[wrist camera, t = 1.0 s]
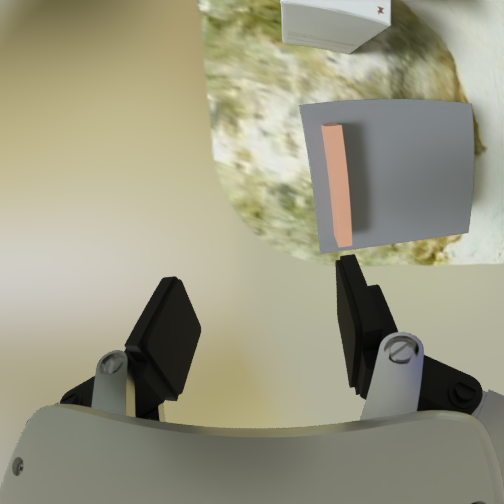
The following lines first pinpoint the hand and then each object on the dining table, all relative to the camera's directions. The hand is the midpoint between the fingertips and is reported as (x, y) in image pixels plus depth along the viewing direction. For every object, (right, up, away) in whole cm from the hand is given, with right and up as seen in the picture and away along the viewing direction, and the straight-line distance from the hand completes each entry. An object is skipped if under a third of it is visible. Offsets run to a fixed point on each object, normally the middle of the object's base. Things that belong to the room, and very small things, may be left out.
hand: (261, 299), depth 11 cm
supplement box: (+7, +26, +10) cm, 29 cm away
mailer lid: (+13, +9, +11) cm, 19 cm away
